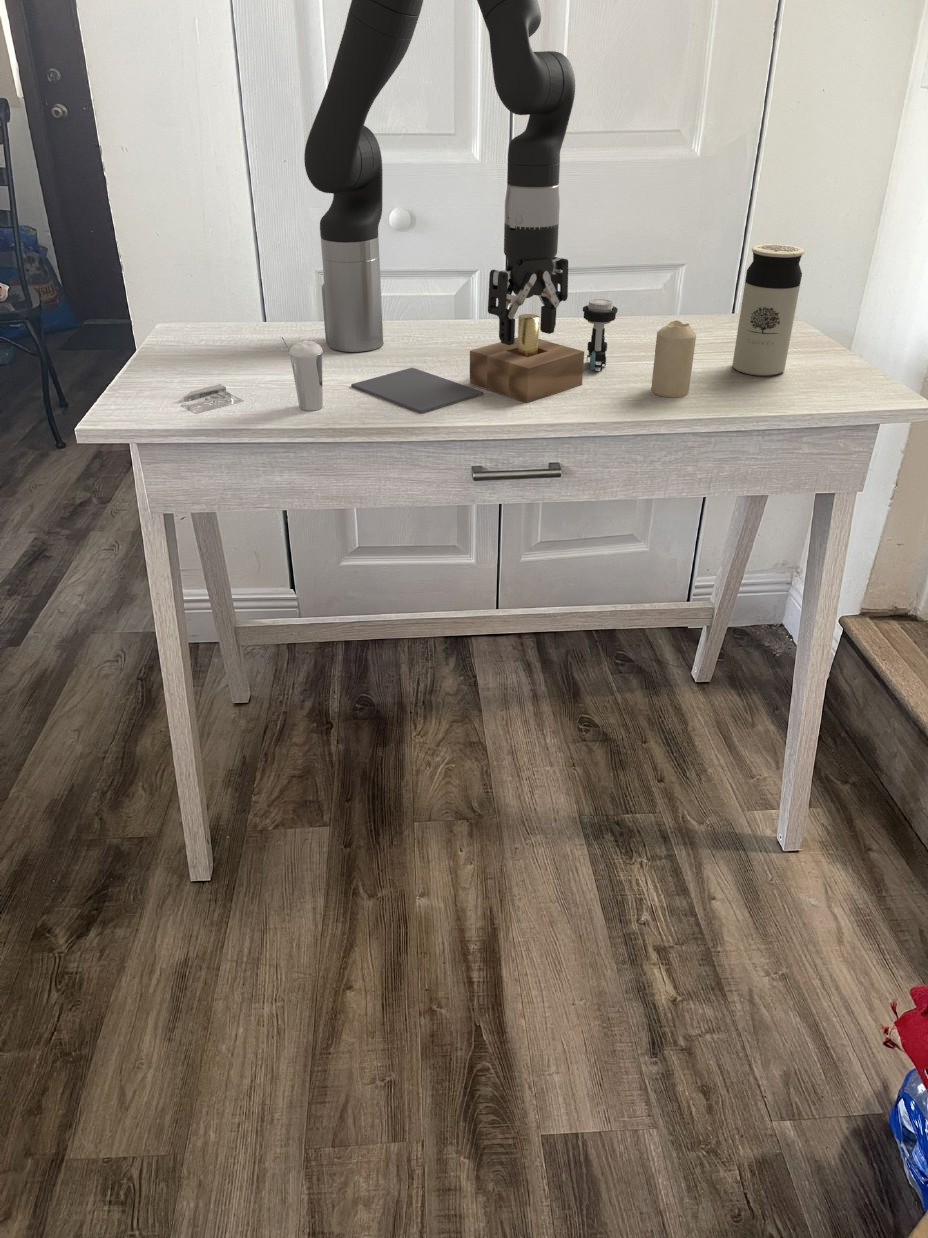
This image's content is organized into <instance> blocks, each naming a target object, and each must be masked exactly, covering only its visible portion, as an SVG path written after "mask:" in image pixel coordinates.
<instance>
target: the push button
mask: <svg viewBox="0 0 928 1238" xmlns="http://www.w3.org/2000/svg"><path fill="white" fill-rule="evenodd" d="M618 311H619V310H618V307H616V306H613V301H612V300H610V299H604V298H603V299H602V298H600V299H598V298H596V299H595V298H594V299H591V300H589V301H588V305H584V306H583V307H582V312H583V319H585V321H587V322H588V323H590V324H592V325H593V327H592V329H591V330H592V331H591V338H590V341H588V342H587V349H586V350H587V351H588V353H587V354H586V362H585V363H586V364H585V365H586V366H588V358H589V364H590V370H591V371H596V372H602V371H603V365H604V367H606V365H607V355H606V352H607V351H608V342H606V340H605V339H606V337H605V331H606V328H605V325H608V324H610V323H611V322H613V321H615V320H616V318H617V317H616V316H617V314H618Z"/></svg>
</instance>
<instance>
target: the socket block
mask: <svg viewBox="0 0 928 1238" xmlns="http://www.w3.org/2000/svg"><path fill="white" fill-rule="evenodd" d="M517 353H518V336H517V337H515V342H514V344H512V345H506V344H503V343H501V341H499V342H496V343H492V344H488V345H484V346H480V347H477V348H474V349H469V384H471V385H473V386H477V387H479V388H482V389H485V390H487V391H488V390H489V391H490V392H493V393H497V394H499V395H502V396H504V397H505V396H506V397H507V398H511V399H515V400H517V401H521V402H524V403H527V404H528V403H531V402H534V401H537V400H541V399H543V398H546V397H549V396H552V395H555V394H558V393H561V392H563V391H567V390H569V389H573V388H575V387H580V386H582V385H583V376H584V361H585V351H584V350H580V349H577V348H572V347H570V346H565V345H563V344H559V343H554V342H552V341H547V340H544V339H540V338H538V354H537V355H534V356H530V357H525V356H521V355H518V354H517Z"/></svg>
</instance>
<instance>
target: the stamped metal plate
mask: <svg viewBox="0 0 928 1238" xmlns="http://www.w3.org/2000/svg"><path fill="white" fill-rule="evenodd" d="M201 398H204V400H202V401H198V402H194V403H191V404H189V402H191V401H194V400H198V399H201ZM234 398H235V400H234ZM182 399H183V403H181V404H180V407H182V408H184V409H186V410H187V411H190V412H191V413H194V414H196V415H197V414H202V413H206V412H210V411H214V410H217V409H221V408H224V407H228V406H232V405H237V404H239V403H245V402H246V401H245V400H244V399H242V398H240V397H237V396H236V395H233V394H231V392H229V391H227V386H225V385H222V384H220V383H219V384H216V385H211V386H207V387H203V388H200V389H196V390H192V391H191V390H190V391H189V392H188V393H186V394H185V395H183V398H182ZM236 399H237V400H236ZM212 402H213V403H212ZM187 403H188V404H187Z"/></svg>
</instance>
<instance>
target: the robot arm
mask: <svg viewBox="0 0 928 1238" xmlns="http://www.w3.org/2000/svg"><path fill="white" fill-rule="evenodd" d="M476 1H477V4H478V7H479V11H480V12H481V15H482V18H483V21H484V24H485V26H486V29H487V31H488V35H489V49H490V57H491V66H492V73H493V74H492V75H493V82H494V86H495V90H496V93H497V96H498V97H499V99H500V101H501V103H502V104H503V106H504V107H505V108H506V109H507V110H508V111H509V112H510V113H512V114H514V115H518V116H529V117H528V121H527V124H526V128H525V129H524V131H523V132H522V133H521V134H518V135H517V136H515V137H513V138H512V139H511V140H510V141H509V144H508V148H507V167H506V168H507V173H506V174H507V177H506V190H505V191H506V193H505V200H504V223H503V224H504V225H503V227H504V228H503V235H504V237H503V253H504V256H505V257H506V258H507V265H506V268H505V269H504V270H499V269H491V270H490V271H489V280H488V299H487V313H488V314H490V315H494V316H497V317H498V320H499V321H498V322H499V323H498V325H499V326H498V329H499V330H498V339H499V340H500V341H499V342H501V343H503V344H506V345H512V344H514V342H515V338H516V336H515V335H516V334H515V333H516V318H514V317H515V315H516V313H517V311H518V309H519V307H520V306H523V304H524V303H525V301H526V299H530V298H532V297H533V296H536V297H537V296H538V299H539V300H540V302H541V303H542V304H541V305H542V306H540V323H539V326H540V327H539V330H540V332H541V333H544V334H549V335H551V334H554V332H555V329H556V325H557V324H556V322H557V308H558V307H559V306H560V304H561V302H562V301H563V302H566V301H567V300H568V297H569V296H568V295H569V294H568V293H569V292H568V291H569V260H568V258H562V257H558V256H557V255H558V247H559V246H558V244H559V226H560V225H559V224H560V204H561V203H560V202H561V201H560V185H559V184H560V167H561V150H562V145H563V143H564V139H565V137H566V133H567V129H568V126H569V121H570V117H571V114H572V109H573V106H574V101H575V96H576V78H575V73H574V69H573V66H572V63H571V62H570V60H569V59H568V57H567V56H565V54H563V53H561V52H558V51H553V50H547V51H545V50H544V51H533V49H532V46H531V43H530V37H532V36H533V35H535V33H536V32H537V31H538V29H539V28H540V25H541V21H542V12H541V7H540V4H539V1H538V0H476ZM423 5H424V0H351V3H350V6H349V9H348V13H347V17H346V22H345V24H344V30H343V34H342V35H341V36H342V37H341V40H340V43H339V46H338V50H337V53H336V57H335V60H334V63H333V66H332V70H331V75H330V78H329V80H328V83H327V87H326V90H325V93H324V95H323V98H322V101H321V103H320V106H319V107H318V111H317V113H316V115H315V118H314V120H313V123H312V126H311V128H310V131H309V133H308V136H307V138H306V143H305V147H304V157H303V158H304V160H303V161H304V167H305V168H304V169H305V172H306V176H307V178H308V180H309V182H310V183H311V184H312V186H313V188H315V189H316V190H318V191H320V192H322V193H324V194H333V195H332V202H331V204H330V206H329V208H328V210H327V211H326V212H325V214H323V216H322V217H321V218H320V222H319V236H320V244H321V245H320V246H321V258H322V260H321V261H322V273H323V284H322V285H321V294H322V295H321V296H322V297H321V298H322V310H323V321H324V322H323V323H324V324H323V325H324V334H325V336H324V337H325V343H328V346H329V347H330V348H331V349H333V350H335V351H339V352H340V351H341V352H349V353H350V352H351V353H352V352H353V353H356V352H357V353H358V352H366V351H373V350H376V349H379V348H381V347H382V346H383V344H384V332H383V330H384V329H383V308H382V304H383V303H382V288H381V287H382V285H381V265H380V264H381V262H380V243H379V241H380V239H379V225H380V222H381V219H382V216H383V215H382V214H383V159H382V152H381V147H380V145H379V142H378V139H377V137H376V136H375V134H374V132H373V131H372V130H371V129H370V128H368V127H367V126H366V125H365V122H366V120H367V117H368V114H369V112H370V109H372V105H373V103H374V102H375V101H376V98H377V97H378V96H379V94H380V93H381V91H382V89H383V88H384V87H385V85H386V84H387V83H388V82H389V80H390V79H391V77H392V76H393V74H394V73H395V71H396V70H397V69H398V67H399V65H400V63H401V62H402V61H403V59H404V58H405V55H406V54H407V51H408V50H409V47H410V45H411V41H412V39H413V36H414V33H415V30H416V27H417V23H418V21H419V18H420V14H421V11H422V7H423ZM512 293H514V294H512ZM509 305H510V306H509Z"/></svg>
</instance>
